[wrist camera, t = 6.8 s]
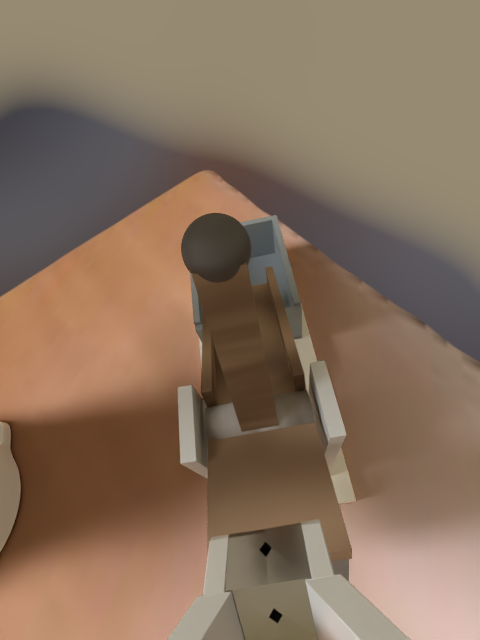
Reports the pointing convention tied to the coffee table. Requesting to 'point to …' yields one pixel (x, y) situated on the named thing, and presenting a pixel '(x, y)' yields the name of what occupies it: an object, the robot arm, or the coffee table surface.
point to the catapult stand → (323, 410)
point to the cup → (265, 254)
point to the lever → (255, 398)
